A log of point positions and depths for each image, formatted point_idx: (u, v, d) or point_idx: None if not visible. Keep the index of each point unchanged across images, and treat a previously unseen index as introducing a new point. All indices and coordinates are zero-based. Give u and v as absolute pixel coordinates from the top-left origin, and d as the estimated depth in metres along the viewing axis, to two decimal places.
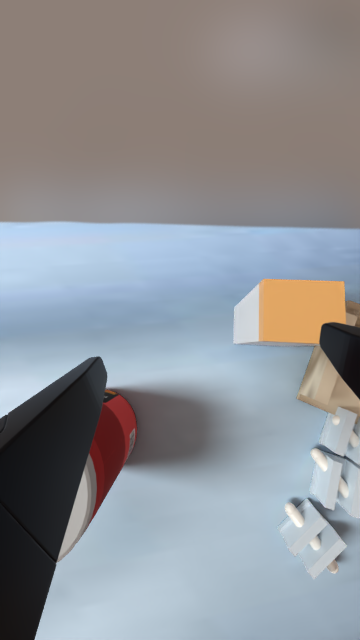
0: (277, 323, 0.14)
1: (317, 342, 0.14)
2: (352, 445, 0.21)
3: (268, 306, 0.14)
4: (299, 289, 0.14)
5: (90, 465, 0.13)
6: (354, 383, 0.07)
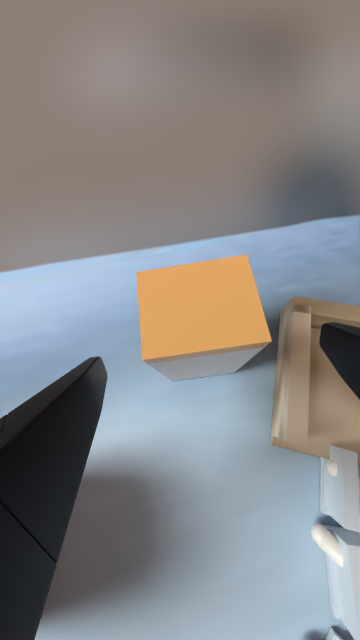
0: (161, 329, 0.09)
1: (226, 346, 0.08)
2: None
3: (145, 307, 0.09)
4: (187, 276, 0.10)
5: None
6: (354, 383, 0.07)
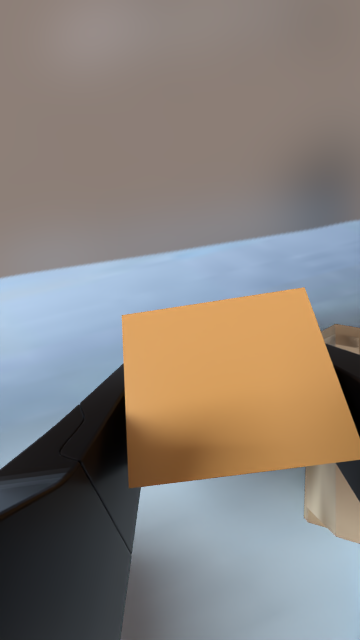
0: (163, 425, 0.05)
1: (281, 465, 0.05)
2: None
3: (136, 381, 0.05)
4: (205, 324, 0.06)
5: None
6: None
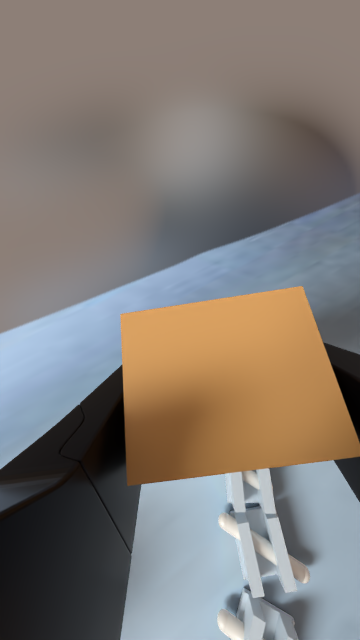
0: (161, 423, 0.05)
1: (279, 463, 0.05)
2: (256, 488, 0.17)
3: (134, 379, 0.05)
4: (203, 322, 0.06)
5: None
6: None
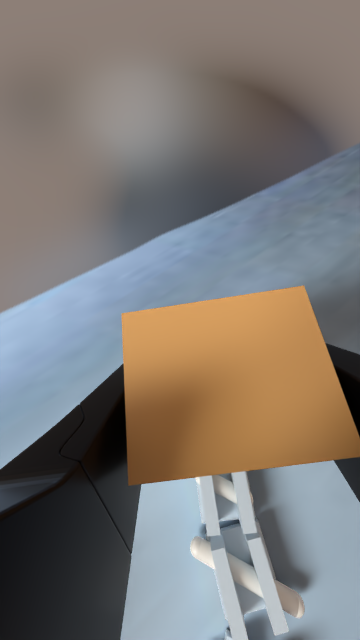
0: (162, 422, 0.05)
1: (281, 462, 0.05)
2: (233, 502, 0.14)
3: (136, 378, 0.05)
4: (205, 321, 0.06)
5: None
6: None
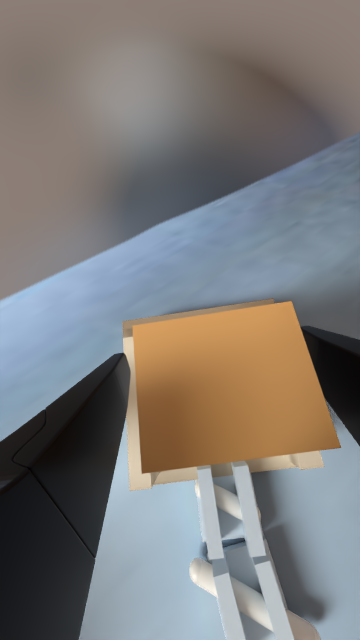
0: (169, 420, 0.06)
1: (270, 453, 0.05)
2: (238, 518, 0.13)
3: (146, 383, 0.06)
4: (205, 333, 0.07)
5: None
6: (324, 387, 0.07)
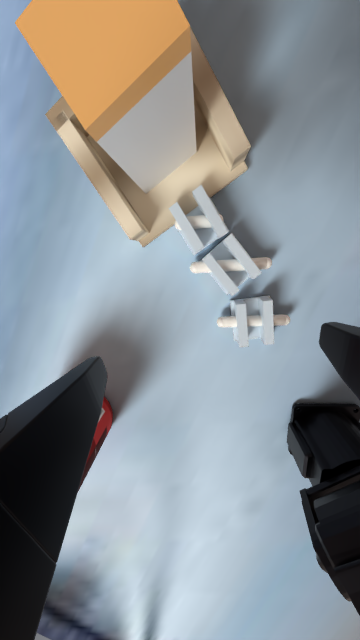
0: (82, 84, 0.08)
1: (149, 63, 0.08)
2: (209, 227, 0.18)
3: (53, 67, 0.08)
4: None
5: None
6: (354, 383, 0.07)
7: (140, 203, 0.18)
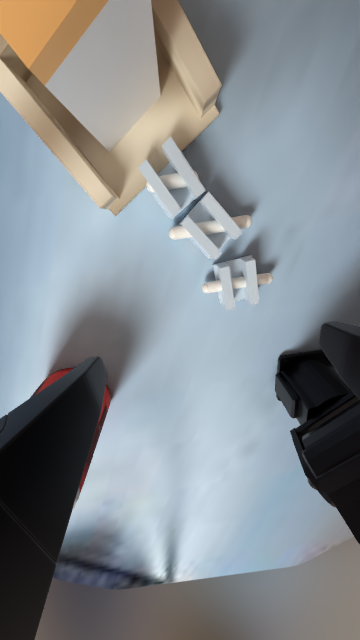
0: (12, 2, 0.06)
1: None
2: (184, 186, 0.17)
3: None
4: None
5: None
6: (354, 383, 0.07)
7: (104, 164, 0.16)
